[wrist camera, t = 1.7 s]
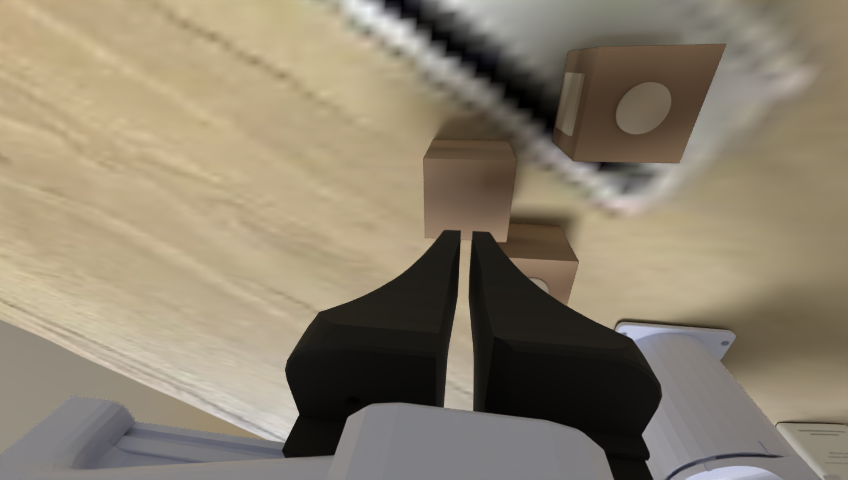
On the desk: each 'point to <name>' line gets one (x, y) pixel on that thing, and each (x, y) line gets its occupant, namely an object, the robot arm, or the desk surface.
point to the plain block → (468, 187)
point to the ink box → (819, 446)
